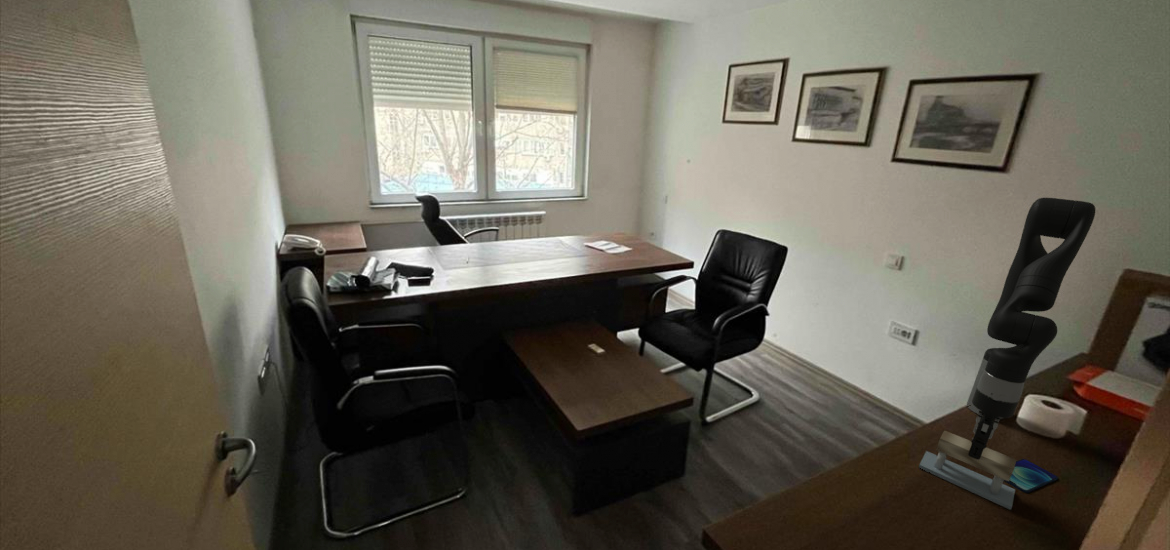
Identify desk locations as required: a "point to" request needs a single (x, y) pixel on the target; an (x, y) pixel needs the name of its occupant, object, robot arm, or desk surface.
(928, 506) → the desk surface
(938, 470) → the peg rack
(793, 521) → the desk surface
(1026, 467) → the smartphone
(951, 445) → the birch plank
